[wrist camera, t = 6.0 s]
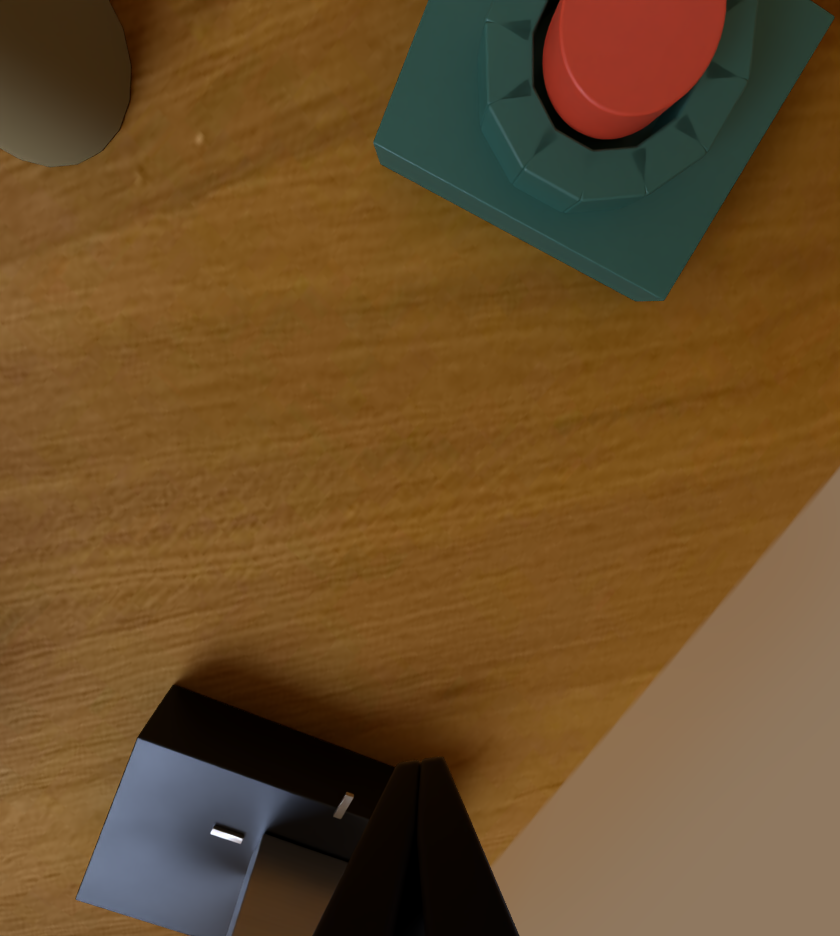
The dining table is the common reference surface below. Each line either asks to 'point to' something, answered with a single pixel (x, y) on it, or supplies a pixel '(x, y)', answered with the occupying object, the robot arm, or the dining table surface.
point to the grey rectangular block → (284, 890)
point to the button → (626, 59)
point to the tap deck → (220, 811)
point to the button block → (581, 157)
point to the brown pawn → (61, 79)
